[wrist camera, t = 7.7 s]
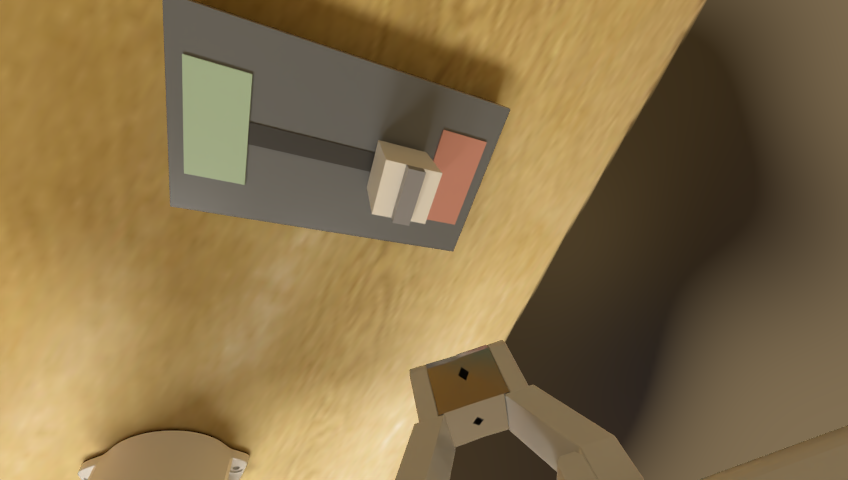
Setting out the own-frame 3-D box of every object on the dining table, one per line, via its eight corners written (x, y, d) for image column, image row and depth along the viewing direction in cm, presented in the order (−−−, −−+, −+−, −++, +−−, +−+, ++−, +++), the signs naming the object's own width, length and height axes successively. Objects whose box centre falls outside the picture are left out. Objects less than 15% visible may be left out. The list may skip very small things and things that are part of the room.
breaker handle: (412, 196, 29) (427, 229, 24) (366, 187, 28) (372, 219, 23) (426, 152, 27) (445, 177, 22) (378, 139, 26) (387, 163, 21)
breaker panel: (445, 236, 36) (453, 252, 33) (185, 191, 28) (169, 207, 25) (496, 103, 30) (511, 109, 27) (182, -4, 22) (160, -9, 19)
